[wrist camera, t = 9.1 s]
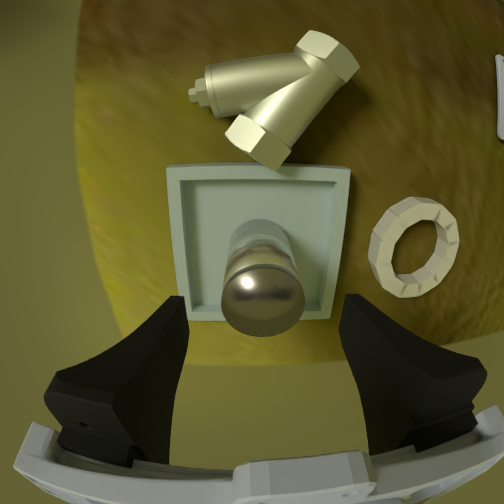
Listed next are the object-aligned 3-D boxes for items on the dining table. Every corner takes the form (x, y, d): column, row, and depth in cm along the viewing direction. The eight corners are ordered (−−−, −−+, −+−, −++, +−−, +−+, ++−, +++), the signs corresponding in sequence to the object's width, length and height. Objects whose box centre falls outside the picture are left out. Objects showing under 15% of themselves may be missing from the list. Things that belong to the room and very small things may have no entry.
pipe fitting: (187, 108, 16) (273, 167, 18) (167, 102, 13) (275, 175, 14) (261, 17, 14) (347, 75, 15) (260, -9, 10) (366, 61, 12)
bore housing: (455, 201, 19) (467, 207, 17) (434, 284, 22) (443, 293, 20) (377, 193, 18) (387, 199, 17) (360, 288, 22) (367, 300, 20)
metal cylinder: (298, 229, 19) (318, 282, 13) (277, 279, 21) (286, 343, 15) (239, 211, 18) (234, 258, 12) (222, 264, 20) (212, 326, 14)
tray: (343, 166, 18) (350, 169, 16) (325, 307, 22) (329, 318, 21) (171, 164, 17) (166, 167, 16) (185, 309, 22) (182, 320, 21)
